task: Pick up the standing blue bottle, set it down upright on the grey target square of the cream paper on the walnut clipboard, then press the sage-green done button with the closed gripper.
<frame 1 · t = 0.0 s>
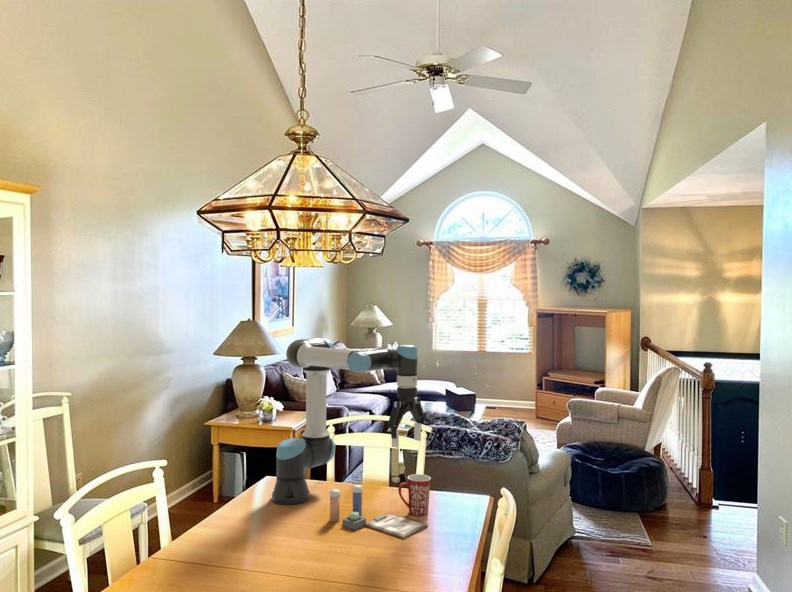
hand: (406, 443, 220), 28 cm above the table, fingers open, 13 cm apart
pale pink bottle: (334, 520, 217), on the table
button housing: (354, 525, 213), on the table
mug: (414, 513, 226), on the table
done button: (354, 516, 213), point 3 cm above the table, slide at 0.0 cm
clipboard: (395, 526, 212), on the table
blue bottle: (357, 515, 223), on the table
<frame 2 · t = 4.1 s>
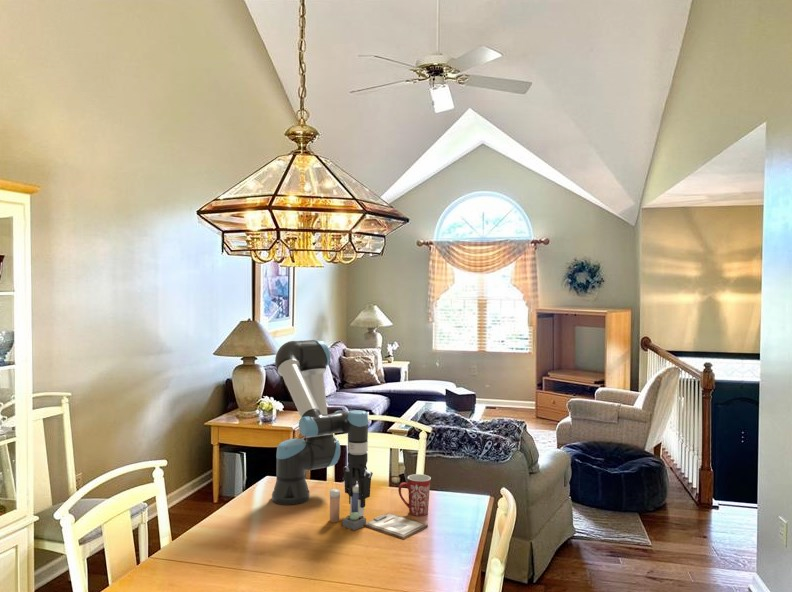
hand: (357, 514, 223), 0 cm above the table, fingers closed on blue bottle, 3 cm apart
blue bottle: (357, 515, 223), on the table, touching gripper
everything else where it was.
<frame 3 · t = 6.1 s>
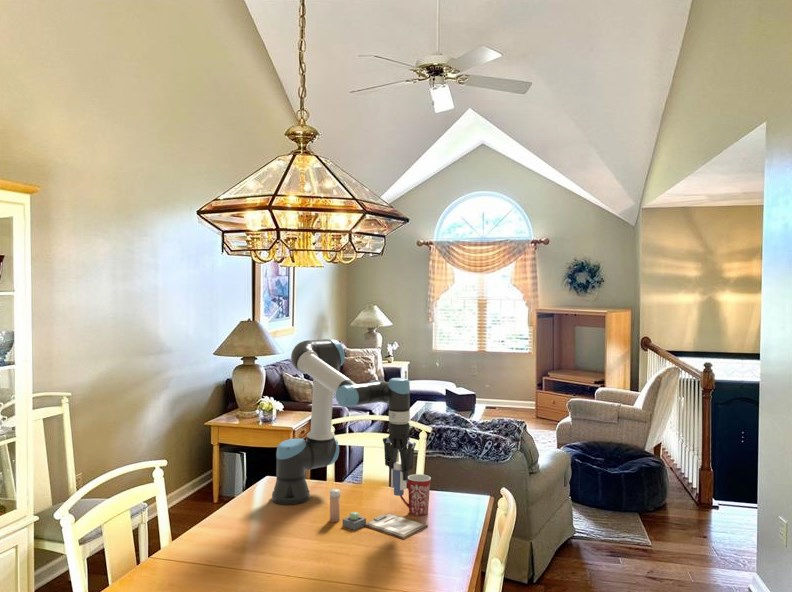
hand: (398, 487, 210), 15 cm above the table, fingers closed on blue bottle, 3 cm apart
blue bottle: (398, 494, 210), point 12 cm above the table, touching gripper
everything else where it was.
when the fingers open (3 cm above the table, at t = 8.5 s): blue bottle stays where it is, resting on clipboard.
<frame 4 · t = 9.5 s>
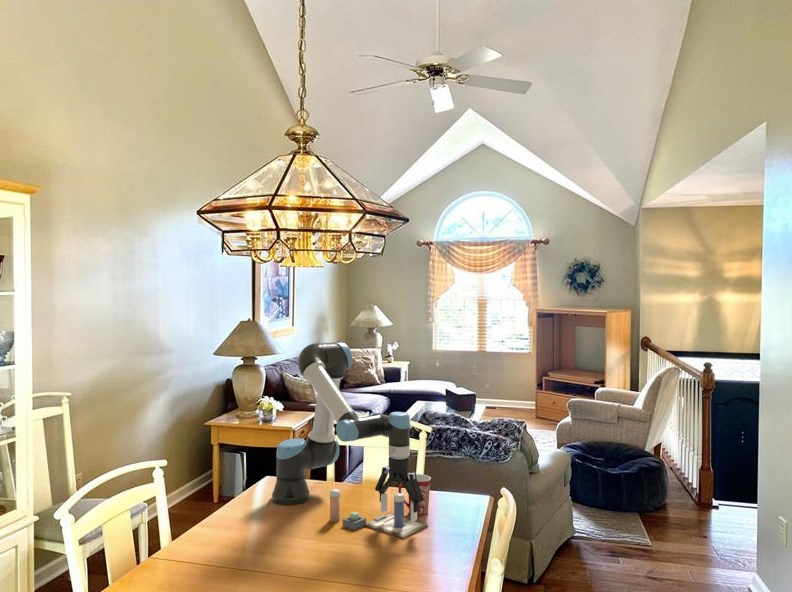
hand: (398, 516, 210), 5 cm above the table, fingers open, 13 cm apart
blue bottle: (398, 525, 210), point 1 cm above the table, touching clipboard
everything else where it was.
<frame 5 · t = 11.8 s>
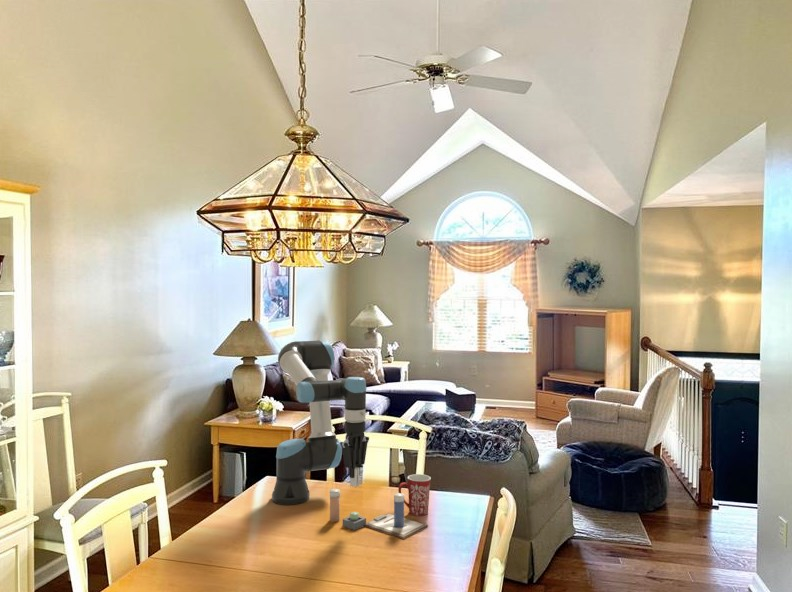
hand: (354, 485, 213), 14 cm above the table, fingers closed
nothing on the table moved.
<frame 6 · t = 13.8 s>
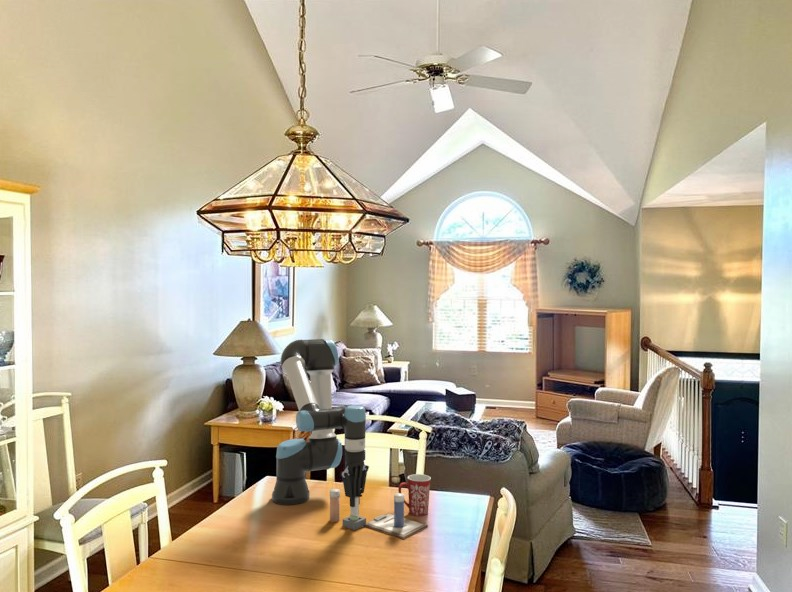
hand: (354, 514, 212), 4 cm above the table, fingers closed
done button: (354, 518, 213), point 2 cm above the table, slide at 0.7 cm, touching gripper
everything else where it was.
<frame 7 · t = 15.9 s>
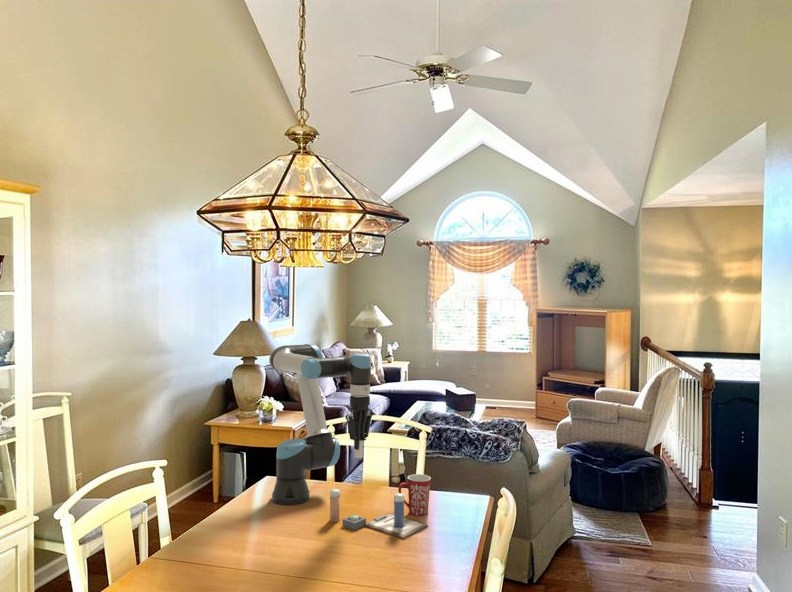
hand: (358, 457, 222), 22 cm above the table, fingers closed
done button: (354, 520, 213), point 2 cm above the table, slide at 1.2 cm
everything else where it was.
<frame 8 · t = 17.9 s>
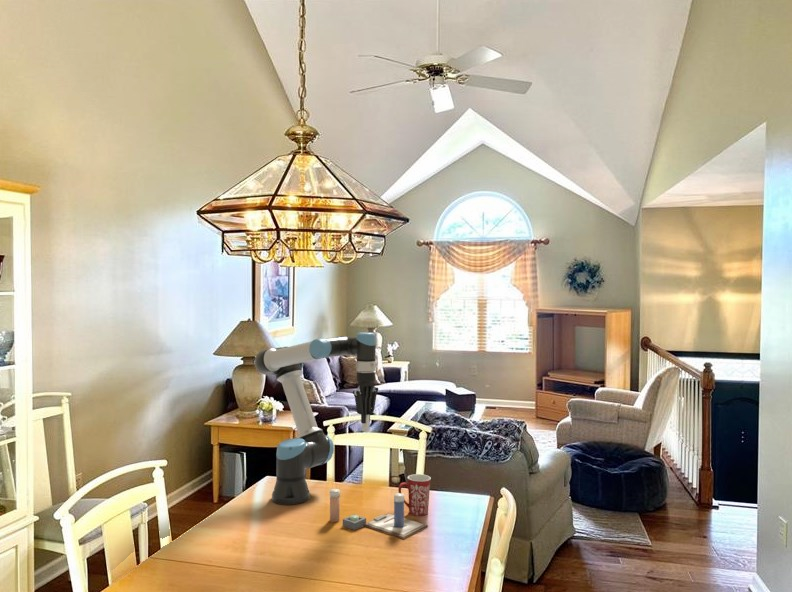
hand: (365, 430, 233), 29 cm above the table, fingers closed
nothing on the table moved.
at the end: blue bottle inside the target area (0.2 cm from its centre), point 1.1 cm above the table; blue bottle tilted 0°; done button slide at 1.2 cm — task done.
